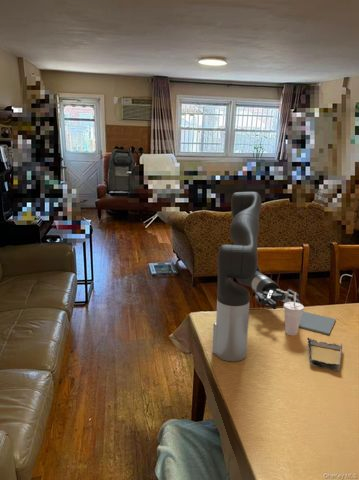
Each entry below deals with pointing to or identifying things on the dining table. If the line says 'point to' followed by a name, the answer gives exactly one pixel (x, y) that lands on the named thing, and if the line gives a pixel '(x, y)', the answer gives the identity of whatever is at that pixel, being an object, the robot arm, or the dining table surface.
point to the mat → (316, 323)
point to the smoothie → (292, 316)
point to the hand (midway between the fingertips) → (287, 305)
